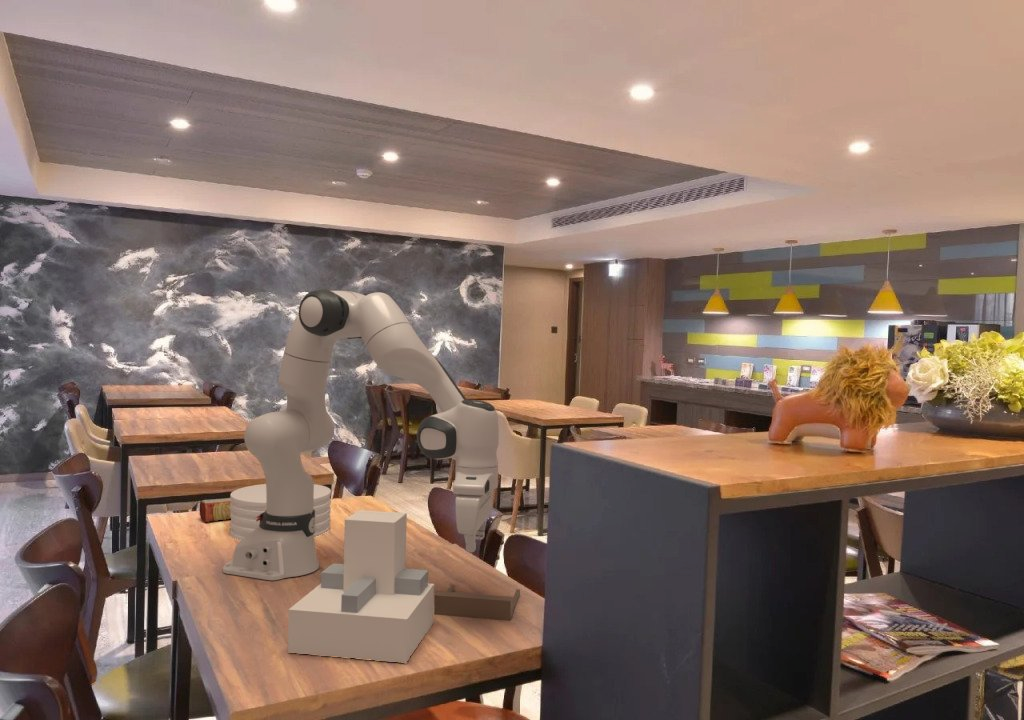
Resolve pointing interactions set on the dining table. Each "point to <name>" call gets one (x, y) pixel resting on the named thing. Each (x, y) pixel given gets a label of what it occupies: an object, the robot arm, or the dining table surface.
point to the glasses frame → (475, 604)
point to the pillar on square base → (366, 597)
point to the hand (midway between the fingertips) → (475, 545)
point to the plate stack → (253, 503)
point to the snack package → (215, 509)
